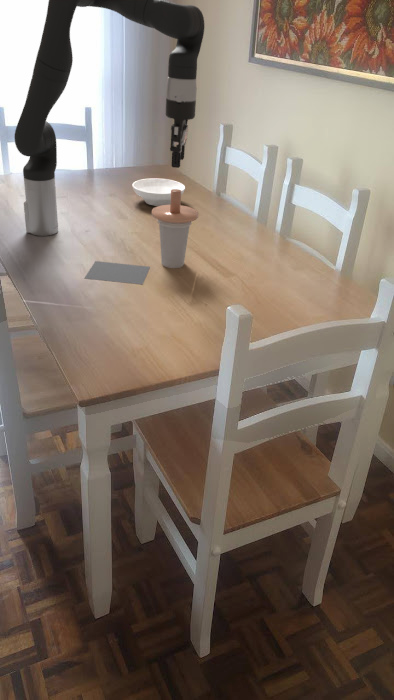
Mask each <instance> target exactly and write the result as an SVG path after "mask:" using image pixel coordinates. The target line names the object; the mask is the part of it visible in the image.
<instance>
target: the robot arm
mask: <svg viewBox="0 0 394 700" xmlns="http://www.w3.org/2000/svg"><path fill="white" fill-rule="evenodd" d="M47 3H48V4H47V10H46V16H45V22H44V25H43V31H42V35H41V40H40V42H39V43H40V44H39V48H38V51H37V54H36V58H35V63H34V66H33V69H32V71H33V72H32V76H31V80H30V84H29V87H28V91H27V94H26V100H25V103H24V106H23V109H22V111H21V114H20V117H19V118H18V119H19V120H18V122H17V125H16V128H15V130H14V144H15V147H16V149H17V151H18V152H19V153H20V154H21V155H22V156H25V157H29V158H28V161H27V162H26V164H25V165H24V166H23V169H22V173H23V185H24V195H25V201H24V202H23V210H24V211H23V212H24V220H25V221H24V222H25V223H24V224H25V231H26V233H29V234H31V235H33V236H42V237H44V236H45V237H46V236H47V237H48V236H52V235H55V234H57V233H58V232H59V221H58V203H57V189H56V188H57V187H56V177H55V176H56V175H55V174H56V173H55V172H56V168H57V166H58V161H57V160H58V158H57V157H58V154H57V153H58V152H57V147H58V146H57V137H56V132H55V130H54V128H53V126H52V125H51V124H50V122H48V121H47V118H48V116H49V114H50V112H51V110H52V109H53V107H54V106H55V105H56V103H57V101H58V100H59V99H60V98H61V95H62V94H63V93H64V91H65V89H66V86H67V84H68V80H69V77H70V74H71V71H72V67H73V63H74V62H73V59H74V57H73V50H72V42H71V33H70V32H71V25H72V21H73V19H74V15H75V11H76V9H77V7H80V8H87V7H93V8H101V9H107V10H111V11H113V12H116V13H117V14H119V15H121V16H122V17H124V18H125V19H128V20H130V21H131V22H134V23H136V24H140V25H141V26H145V27H146V28H147V27H148V28H152V29H155V30H156V31H157V32H159V33H161V34H163V35H165V36H167V37H169V38H172V39H175V40H176V44H175V45H176V46H175V47H174V49H173V50H172V51H170V53H169V56H168V66H167V69H168V71H167V80H166V81H167V82H166V90H165V91H166V93H165V94H166V95H165V116H166V117H167V118H168V119H173V123H172V125H171V126H170V131H171V132H170V148H169V151H170V152H171V165H170V166H171V167H172V168H175V169H177V168H178V169H179V168H180V167H181V161H183V160H184V159H185V146H186V144H187V141H188V131H189V125H188V121H191V120H193V119H195V117H196V106H197V105H196V103H197V89H198V88H197V74H198V73H197V72H198V71H197V70H198V57H199V54H200V51H201V49H202V43H203V38H204V34H205V17H204V15H203V12H202V10H201V8H199V7H197V6H196V5H193V4H178V3H174V2H171V1H168V0H48V2H47Z"/></svg>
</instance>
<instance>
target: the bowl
mask: <svg viewBox="0 0 394 700" xmlns="http://www.w3.org/2000/svg"><path fill="white" fill-rule="evenodd" d="M132 188H133V191H134V192H135V194H136V195H137V196H139V197H141V198H142V199H143V201H144V202H145V203H146V204H147V205H150V206H154V207H158V206H162V205H170V203H171V190H172V189H178V190H181V196H182V195H183V194H184V192H185V189H186V186H185V184H183V183H182V182H179V181H176V180H174V179H168V178H156V177H155V178H154V177H153V178H151V177H150V178H143V179H138V180H136V181H134V182H133V183H132Z"/></svg>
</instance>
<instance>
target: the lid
mask: <svg viewBox="0 0 394 700" xmlns="http://www.w3.org/2000/svg"><path fill="white" fill-rule="evenodd" d="M181 200H182V195H181V190H178V189H172V190H171V203H170V205H162V206H154V207H153V208H152V209H151V216H152V217H153V218H154V219H156V220H157V221H158V220H161V221H165V222H171V223H186V222H194V221H196V220H197V219H199V212H198V210H196V209H195V208H193V207H190V206H188V205H187V206H186V205H182V204H181V202H182V201H181Z"/></svg>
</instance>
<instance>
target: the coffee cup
mask: <svg viewBox="0 0 394 700" xmlns="http://www.w3.org/2000/svg"><path fill="white" fill-rule="evenodd" d="M192 222H193V221H191V222H186V223H171V222H165V221H161V220H158V219H157V223H158V224H159V237H160V238H159V240H160V242H159V243H160V256H161V257H160V258H161V259H160V260H161V265H162V266H164V267H165V268H168V269H169V268H170V269H178V268H180V269H181V268H183V266H184V264H185V259H186V252H187V245H188V240H189V239H188V238H189V231H190V227H191V225H192V224H193V223H192Z"/></svg>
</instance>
